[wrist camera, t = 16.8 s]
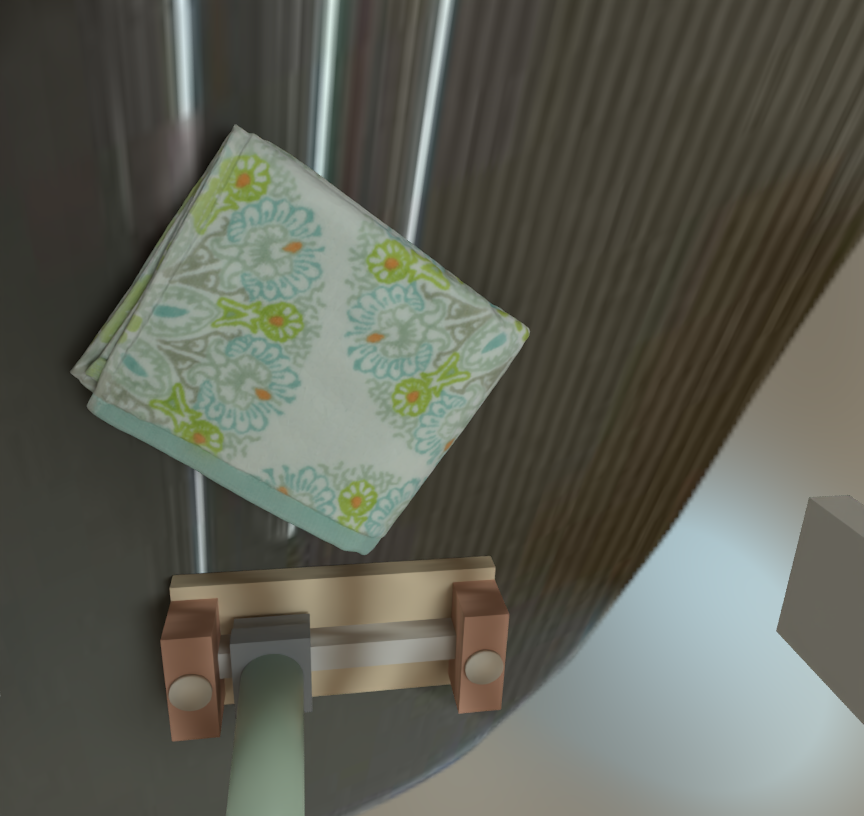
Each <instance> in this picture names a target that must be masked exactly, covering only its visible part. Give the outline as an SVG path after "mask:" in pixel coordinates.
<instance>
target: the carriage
mask: <svg viewBox="0 0 864 816" xmlns="http://www.w3.org/2000/svg"><path fill="white" fill-rule="evenodd" d="M230 654H231V667H232V681H233V694H234V707H235V719H236V727H235V736H234V746H233V755H232V765H231V774H230V783H229V793H228V802H227V812H226V816H304V712H312V674H311V644H310V614H296V615H282V616H268V617H254V618H240V619H234V624H233V629H232V631H231V638H230Z"/></svg>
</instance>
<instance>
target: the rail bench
mask: <svg viewBox="0 0 864 816" xmlns="http://www.w3.org/2000/svg"><path fill="white" fill-rule="evenodd" d="M169 589H170V598H171V602H170V606H169V610H168V614H167V617H166V621H165V625H164V628H163V632H162V636H161V640H160V642H161V651H162V659H163V668H164V676H165V685H166V693H167V702H168V710H169V719H170V727H171V736H172V741H182V740H192V739H202V738H213V737H220V732H221V725H222V717H223V709H224V705H225V704H234V694H233V681H232V667H231V654H230V638H231V631H232V629H233V624H234V619H240V618H254V617H268V616H282V615H296V614H310V644H311V674H312V697H314V696H325V695H336V694H347V693H358V692H369V691H380V690H391V689H402V688H413V687H424V686H435V685H446V684H451V686H452V690H453V694H454V697H455V701H456V705H457V709H458V712H459V713H469V712H479V711H490V710H500V709H501V702H502V690H503V679H504V668H505V656H506V645H507V633H508V622H509V612H508V610H507V608H506V605H505V603H504V601H503V598H502V596H501V594H500V591H499V589H498V587H497V584H496V582H495V565H494V563H493V561H492V558H491V556H479V557H463V558H447V559H430V560H414V561H398V562H382V563H365V564H349V565H333V566H317V567H300V568H284V569H268V570H251V571H235V572H219V573H203V574H186V575H173V577H172V581H171V585H170V588H169Z"/></svg>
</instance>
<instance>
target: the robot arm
mask: <svg viewBox="0 0 864 816" xmlns="http://www.w3.org/2000/svg"><path fill="white" fill-rule="evenodd" d="M776 631H777V632H778V633H779V634H780V635H781V637H782V638H783V639H784V640H785V641H786V642H787V643H788V644H789V645H790V646H791V647H792V648H793V650H794V651H795V652H796V653H797V654H798V655H799V656H800V657H801V658H802V659H803V660H804V661H805V662H806V663H807V664H808V666H809V667H810V668H811V669H812V670H813V671H814V672H815V673H816V674H817V675H818V676H819V677H820V678H821V679H822V681H823V682H824V683H825V684H826V685H827V686H828V687H829V688H830V689H831V690H832V691H833V692H834V693H835V694H836V696H837V697H838V698H839V699H840V700H841V701H842V702H843V703H844V704H845V705H846V706H847V707H848V708H849V709H850V711H852V713H853V714H854V715H855V716H856V717H857V718H858V719H859V720H860V721H861V722H862V723H863V724H864V505H863V504H862V503H860V502H859V501H857V500H856V499H854V498H853V497H851V496H850V495H843V496H823V497H809V500H808V504H807V508H806V512H805V517H804V521H803V524H802V528H801V532H800V536H799V541H798V545H797V549H796V553H795V557H794V561H793V566H792V569H791V573H790V577H789V581H788V585H787V589H786V594H785V598H784V602H783V606H782V610H781V614H780V618H779V622H778V626H777V630H776ZM0 697H1V696H0Z"/></svg>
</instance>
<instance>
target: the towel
mask: <svg viewBox="0 0 864 816" xmlns="http://www.w3.org/2000/svg"><path fill="white" fill-rule="evenodd" d="M529 333H530V331H529V328H528V327H526V326H525V325H524V324H523V323H521V322H519V321H518V320H516V319H515V318H514V317H512V316H510V315H509V314H507V313H506V312H505V311H503V310H502V309H501V308H499V307H498V306H495V305H493V304H491V303H490V302H489V301H487V300H486V299H485V298H484V297H482V296H481V295H479V294H478V293H477V292H475V291H474V290H473V289H472V288H471V287H469V286H468V285H466V284H465V283H463V282H461V281H460V280H459V279H458V278H457V277H456V276H454V275H453V274H452V273H451V272H449V271H448V270H446V269H444V268H443V267H442V266H441V265H440V264H439V263H437V262H436V261H435V260H433V259H432V258H430V257H429V256H428V255H426V254H425V253H424V252H422V251H421V250H420V249H418V248H417V247H416V246H415V245H413V244H412V243H411V242H409V241H408V240H406V239H405V238H404V237H402V236H401V235H400V234H399V233H397V232H396V231H395V230H393V229H392V228H390V227H389V226H387V225H386V224H385V223H383V222H382V221H380V220H379V219H378V218H376V217H375V216H374V215H372V214H371V213H370V212H368V211H367V210H366V209H364V208H363V207H362V206H360V205H359V204H358V203H356V202H355V201H354V200H352V199H351V198H349V197H348V196H347V195H345V194H344V193H343V192H341V191H340V190H339V189H337V188H336V187H335V186H333V185H332V184H331V183H329V182H328V181H327V180H326V179H324V178H323V177H321V176H320V175H319V174H317V173H316V172H315V171H313V170H312V169H311V168H309V167H308V166H306V165H305V164H303V163H302V162H300V161H299V160H297V159H296V158H295V157H293V156H292V155H290V154H289V153H287V152H286V151H284V150H282V149H281V148H279V147H278V146H276V145H274V144H273V143H271V142H269V141H267V140H263V139H261V138H260V137H259V136H257V135H256V134H254V133H247V132H246V131H245V130H243V129H242V128H240V127H239V126H237V125H234V127H233V128H232V131H231V133H230V134H229V135H228V136H227V137H226V139H225V141H224V142H223V144H222V146H221V147H220V149H219V151H218V152H217V154H216V155H215V157H214V158H213V160H212V161H211V163H210V164H209V166H208V167H207V169H206V171H205V172H204V174H203V175H202V177H201V178H200V179H199V181H198V182H197V184H196V185H195V186H194V187H193V189H192V191H191V192H190V194H189V195H188V197H187V198H186V199H185V201H184V203H183V205H182V206H181V208H180V209H179V210H178V212H177V214H176V215H175V216H174V218H173V219H172V221H171V222H170V224H169V225H168V226H167V228H166V230H165V232H164V233H163V235H162V236H161V238H160V240H159V241H158V243H157V244H156V246H155V247H154V249H153V251H152V252H151V254H150V255H149V257H148V259H147V260H146V262H145V263H144V265H143V267H142V268H141V270H140V272H139V274H138V275H137V277H136V278H135V280H134V282H133V284H132V285H131V287H130V288H129V289H128V291H127V292H126V294H125V295H124V297H123V298H122V299H121V301H120V302H119V304H118V305H117V307H116V308H115V309H114V311H113V312H112V313H111V315H110V316H109V318H108V320H107V321H106V323H105V324H104V325H103V327H102V328H101V329H100V331H99V332H98V334H97V335H96V336H95V338H94V339H93V341H92V342H91V344H90V345H89V347H88V348H87V350H86V351H85V353H84V354H83V355H82V357H81V358H80V359H79V360H78V362H77V363H76V365H75V366H74V367H73V369H72V370H71V371H70V373H71V374H72V375H73V376H75V377H76V378H78V379H79V380H80V382H81V384H83V385H84V386H85V387H86V388H87V389H89V390H90V391H91V392H93V394H92V396H91V398H90V400H89V402H88V404H87V408H88V409H89V410H90V411H91V412H92V413H93V414H94V415H95V416H97V417H99V418H100V419H102V420H103V421H105V422H107V423H108V424H110V425H112V426H114V427H115V428H117V429H119V430H121V431H123V432H126V433H128V434H130V435H132V436H134V437H136V438H138V439H140V440H142V441H144V442H146V443H147V444H149V445H151V446H153V447H155V448H157V449H158V450H160V451H162V452H164V453H166V454H167V455H169V456H171V457H173V458H174V459H176V460H178V461H180V462H182V463H184V464H186V465H188V466H189V467H191V468H193V469H195V470H197V471H198V472H200V473H201V474H203V475H205V476H206V477H208V478H210V479H211V480H213V481H214V482H216V483H218V484H219V485H221V486H223V487H225V488H227V489H228V490H230V491H232V492H234V493H235V494H237V495H239V496H241V497H242V498H244V499H246V500H248V501H249V502H251V503H253V504H255V505H257V506H259V507H260V508H262V509H264V510H266V511H268V512H270V513H272V514H274V515H275V516H277V517H279V518H281V519H283V520H285V521H287V522H289V523H291V524H293V525H295V526H297V527H299V528H301V529H303V530H305V531H307V532H309V533H311V534H313V535H315V536H317V537H318V538H320V539H322V540H324V541H326V542H329V543H331V544H333V545H335V546H336V547H338V548H340V549H342V550H344V551H354V552H358V553H360V554H362V555H366V554H368V553H369V552H370V551H372V550H373V549H374V547H375V546H376V545H377V543H378V542H379V540H380V539H381V538H382V537H384V536H385V535H386V533H387V532H388V530H389V529H390V527H391V526H392V524H393V523H394V522H395V520H396V519H397V518H398V516H399V515H400V514H401V513H402V511H403V510H404V509H405V508H406V506H407V505H408V503H409V502H410V501H411V499H412V498H413V497H414V495H415V494H416V492H417V491H418V489H419V488H420V487H421V485H422V484H423V483H424V481H425V480H426V479H427V478H428V476H429V475H430V473H431V472H432V471H433V469H434V468H435V467H436V465H437V464H438V462H439V461H440V460H441V458H442V457H443V456H444V455H445V453H446V452H447V451H448V450H449V448H450V447H451V445H452V444H453V443H454V441H455V440H456V439H457V437H458V436H459V435H460V434H461V432H462V431H463V430H464V428H465V427H466V426H467V424H468V423H469V421H470V420H471V418H472V417H473V416H474V414H475V413H476V411H477V410H478V409H479V407H480V406H481V405H482V403H483V402H484V400H485V399H486V398H487V396H488V395H489V394H490V392H491V391H492V389H493V388H494V387H495V385H496V384H497V383H498V381H499V380H500V378H501V377H502V376H503V374H504V373H505V372H506V370H507V368H508V367H509V365H510V364H511V362H512V361H513V359H514V358H515V357H516V355H517V354H518V352H519V351H520V349H521V347H522V346H523V344H524V342H525V341H526V340H527V338H528V336H529Z"/></svg>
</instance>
